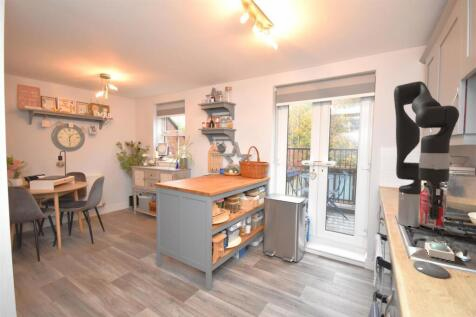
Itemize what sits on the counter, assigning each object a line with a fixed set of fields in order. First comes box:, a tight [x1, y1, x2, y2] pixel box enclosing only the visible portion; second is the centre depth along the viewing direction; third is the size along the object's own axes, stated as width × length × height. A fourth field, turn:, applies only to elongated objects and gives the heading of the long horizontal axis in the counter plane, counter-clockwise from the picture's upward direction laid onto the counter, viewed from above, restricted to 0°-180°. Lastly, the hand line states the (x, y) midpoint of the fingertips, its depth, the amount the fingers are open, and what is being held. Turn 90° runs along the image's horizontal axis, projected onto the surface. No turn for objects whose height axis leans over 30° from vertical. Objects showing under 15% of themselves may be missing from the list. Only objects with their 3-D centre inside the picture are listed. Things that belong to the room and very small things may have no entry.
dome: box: [430, 241, 448, 252], centre depth 82 cm, size 4×4×4 cm
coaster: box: [412, 260, 450, 279], centre depth 73 cm, size 9×9×1 cm
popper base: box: [424, 241, 455, 262], centre depth 82 cm, size 7×7×3 cm
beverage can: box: [419, 188, 446, 228], centre depth 72 cm, size 6×6×12 cm
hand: (431, 215), depth 72 cm, fingers closed on beverage can, 6 cm apart
